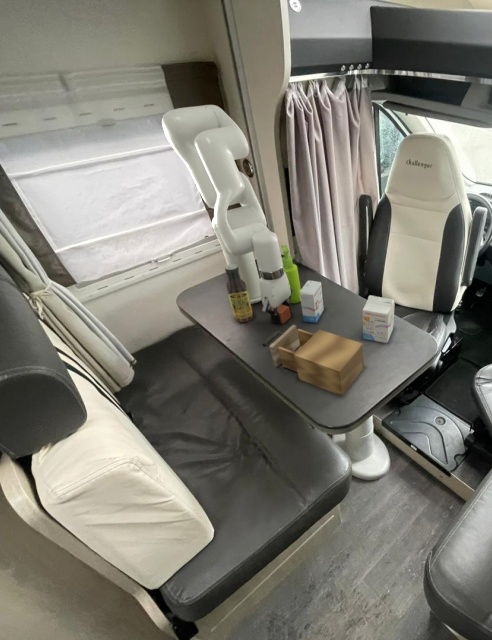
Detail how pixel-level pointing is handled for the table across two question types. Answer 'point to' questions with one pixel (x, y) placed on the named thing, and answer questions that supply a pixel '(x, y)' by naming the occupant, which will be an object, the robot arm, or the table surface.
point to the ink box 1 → (311, 301)
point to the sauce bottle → (238, 294)
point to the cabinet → (329, 361)
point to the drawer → (287, 346)
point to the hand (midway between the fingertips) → (282, 317)
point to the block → (283, 313)
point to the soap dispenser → (291, 275)
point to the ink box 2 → (378, 319)
